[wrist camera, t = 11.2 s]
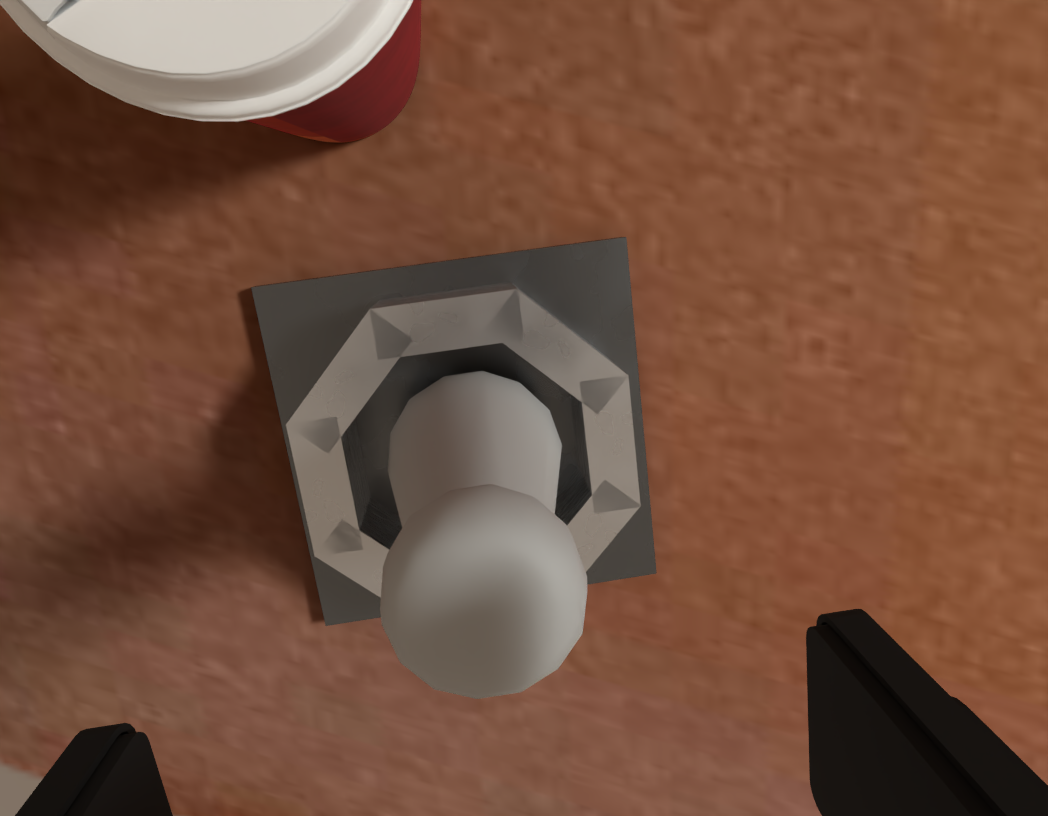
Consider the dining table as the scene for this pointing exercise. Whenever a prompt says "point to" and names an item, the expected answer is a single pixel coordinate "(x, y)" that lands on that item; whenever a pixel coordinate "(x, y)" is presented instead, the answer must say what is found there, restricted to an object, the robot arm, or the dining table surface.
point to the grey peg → (479, 540)
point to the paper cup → (241, 58)
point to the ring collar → (447, 349)
